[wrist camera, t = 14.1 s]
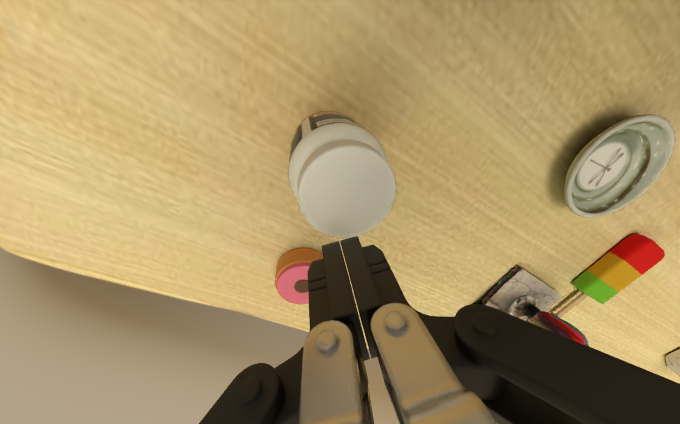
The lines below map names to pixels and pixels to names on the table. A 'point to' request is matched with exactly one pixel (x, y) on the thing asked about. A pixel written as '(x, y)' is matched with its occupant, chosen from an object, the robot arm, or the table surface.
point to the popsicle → (616, 270)
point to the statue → (530, 303)
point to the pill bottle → (340, 175)
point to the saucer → (618, 165)
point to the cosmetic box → (674, 361)
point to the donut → (295, 274)
